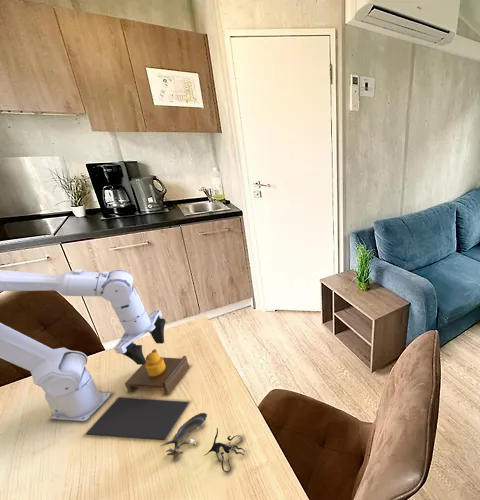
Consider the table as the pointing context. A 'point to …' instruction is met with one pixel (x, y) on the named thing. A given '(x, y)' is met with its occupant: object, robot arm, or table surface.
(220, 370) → the table surface
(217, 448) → the creature
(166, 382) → the shelf
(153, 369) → the orange tiered figure
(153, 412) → the mat
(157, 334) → the robot arm
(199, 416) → the eagle figurine
